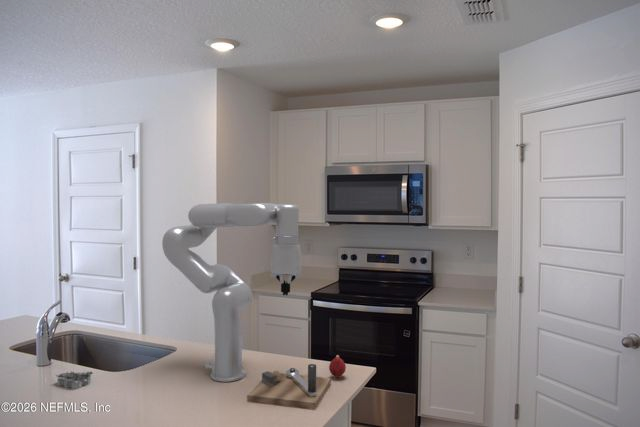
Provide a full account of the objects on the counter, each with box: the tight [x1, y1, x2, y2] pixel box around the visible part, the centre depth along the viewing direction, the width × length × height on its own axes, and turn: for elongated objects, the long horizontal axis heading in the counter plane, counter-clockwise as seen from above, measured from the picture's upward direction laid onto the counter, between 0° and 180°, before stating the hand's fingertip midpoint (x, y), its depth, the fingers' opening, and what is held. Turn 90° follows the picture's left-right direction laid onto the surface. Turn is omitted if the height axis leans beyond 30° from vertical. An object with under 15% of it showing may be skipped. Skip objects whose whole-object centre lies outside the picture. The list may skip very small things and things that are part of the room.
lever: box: [285, 363, 317, 397], centre depth 152 cm, size 20×4×9 cm, turn 24°
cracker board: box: [246, 370, 332, 410], centre depth 152 cm, size 22×20×6 cm
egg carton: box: [55, 370, 94, 390], centre depth 158 cm, size 11×8×4 cm
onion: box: [328, 354, 347, 379], centre depth 164 cm, size 6×6×8 cm
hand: (285, 294), depth 159 cm, fingers closed
